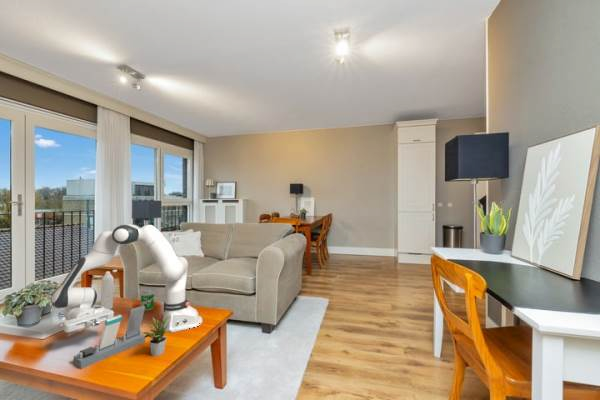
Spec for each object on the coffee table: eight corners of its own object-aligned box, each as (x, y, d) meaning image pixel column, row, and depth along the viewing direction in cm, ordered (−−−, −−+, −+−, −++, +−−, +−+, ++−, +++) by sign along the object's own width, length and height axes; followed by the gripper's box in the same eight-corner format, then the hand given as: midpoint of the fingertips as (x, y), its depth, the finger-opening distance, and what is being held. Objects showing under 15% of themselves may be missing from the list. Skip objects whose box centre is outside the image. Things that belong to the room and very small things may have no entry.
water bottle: (103, 311, 173) (104, 273, 174) (98, 309, 177) (99, 271, 177) (118, 307, 181) (119, 270, 181) (113, 305, 184) (114, 269, 185)
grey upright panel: (137, 332, 138) (143, 305, 135) (138, 333, 137) (145, 306, 135) (124, 336, 133) (131, 309, 130) (126, 338, 132) (132, 310, 129)
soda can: (139, 309, 177) (139, 291, 177) (151, 306, 183) (151, 289, 183) (142, 312, 172) (143, 294, 172) (155, 309, 178) (155, 291, 178)
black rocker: (90, 349, 122) (90, 346, 122) (96, 350, 119) (96, 347, 119) (80, 353, 119) (80, 350, 119) (86, 354, 116) (85, 352, 116)
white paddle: (112, 341, 128) (120, 314, 125) (114, 343, 127) (122, 316, 124) (97, 347, 123) (105, 319, 120) (99, 349, 122) (107, 321, 119)
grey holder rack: (136, 337, 141) (136, 327, 141) (144, 341, 137) (145, 331, 137) (73, 362, 118) (73, 350, 118) (81, 369, 114) (81, 356, 114)
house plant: (154, 342, 136) (155, 310, 136) (180, 344, 134) (180, 312, 134) (134, 358, 121) (135, 323, 122) (162, 361, 120) (163, 325, 120)
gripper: (58, 318, 128) (70, 325, 121) (106, 305, 146) (119, 310, 139) (57, 331, 128) (69, 339, 121) (106, 316, 146) (118, 323, 139)
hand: (96, 324), depth 130 cm, fingers closed
